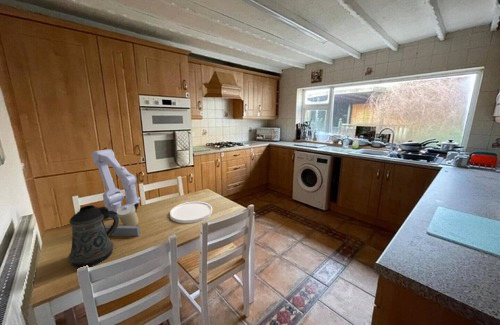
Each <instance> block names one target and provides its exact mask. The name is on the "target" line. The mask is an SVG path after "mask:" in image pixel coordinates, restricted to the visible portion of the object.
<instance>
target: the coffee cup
mask: <svg viewBox="0 0 500 325" xmlns="http://www.w3.org/2000/svg"><path fill="white" fill-rule="evenodd" d="M121 205H122V206H121V207H119V208H118V210H117V215H118V216H119V221H121V223H122V226H138V224H139V221H140V220H139V218H138V217H139V216H138V214H137V212H136V210H135V206H134V205H132V204H129V205H131V206H130V207H128V209H124V206H125V205H128V204H126V203H125V204H121Z"/></svg>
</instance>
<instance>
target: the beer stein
mask: <svg viewBox="0 0 500 325" xmlns="http://www.w3.org/2000/svg"><path fill="white" fill-rule="evenodd" d="M109 217H110V218H113V219H112V220H113V222H112V225H110V226H111V228H110V229H109V230H108V232H106V228H105V226H106V224H105V223H104V220H107V219H106V218H109ZM119 224H120V218H119V216H118V215H117V213H116V212H114V211H109V210H108V208H106V207H104V206H100V207H98V206H95V205H93V204H92V205H85V206H84V205H83V206H82V207H80V208H79V210H78V211H77V212H76V213H75V214H74V215H72V216H71V218H70V219H69V225H70V226H71V227H72V228H71V230H72V231H71V248H70V253H69V256H68V257H69V258H68V259H69V261H70V263H71V265H72V267H73V268H76V267H77V268H78V269H80V268H79V267H83V266H86V265H88V266H89V267H88V268H92V267H93V266H92V265H94V266H97V265H99V264H101V263H102V261H103V262H104V261H106V260H108V259H109V257H111V255H113V251H114V243H113V242H112V240H111V239H110V237H112V236H111V235H112V234H113V233H114V231H115V230H116V228H117V226H119ZM100 262H101V263H100ZM77 268H76V269H77Z"/></svg>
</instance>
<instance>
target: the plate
mask: <svg viewBox="0 0 500 325" xmlns="http://www.w3.org/2000/svg"><path fill="white" fill-rule="evenodd" d="M212 213H213V207H212V205H211V204H209V203H207V202H205V201H199V200H198V201H194V200H193V201H187V202H182V203H180V204H179V203H178V205H175V206H174V207H172V208H171V209H170V211H169V217H170V219H171V220H172V221H173V222H176V223H178V224H194V223H199V222H201V220H202V221H204V220H206V219H208V218H209V217H211V216H212Z"/></svg>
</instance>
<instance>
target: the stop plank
mask: <svg viewBox="0 0 500 325" xmlns="http://www.w3.org/2000/svg"><path fill="white" fill-rule="evenodd" d="M111 226H112V225H105V228H106V232H108V230H109V229H110V228H111ZM140 234H141V228H140V226H139V225H136V226H124V225H118V226H117V228H116V230H115V231H114V233H113V234H112V235H111V236H110V237H139V236H140Z"/></svg>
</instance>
